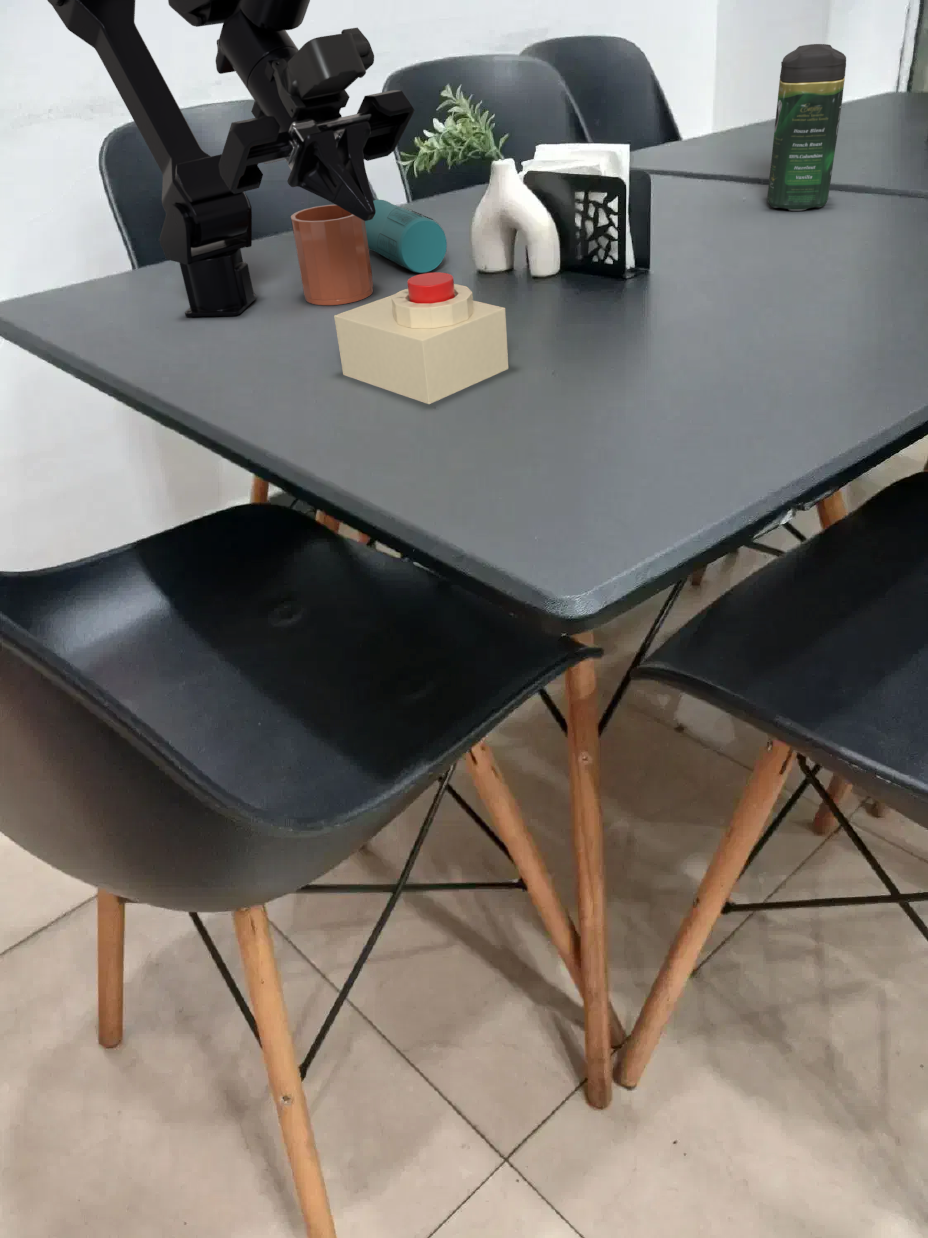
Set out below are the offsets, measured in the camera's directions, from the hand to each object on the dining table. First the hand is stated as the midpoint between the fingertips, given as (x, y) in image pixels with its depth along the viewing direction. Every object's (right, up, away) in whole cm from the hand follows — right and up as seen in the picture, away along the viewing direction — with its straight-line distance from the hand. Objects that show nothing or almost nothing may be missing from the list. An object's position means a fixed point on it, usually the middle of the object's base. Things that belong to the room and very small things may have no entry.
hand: (370, 216), depth 86 cm
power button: (+5, -8, -1) cm, 9 cm away
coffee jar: (+53, +20, +45) cm, 72 cm away
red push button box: (+5, -13, +4) cm, 14 cm away
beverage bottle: (+4, +8, +28) cm, 29 cm away
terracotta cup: (-6, +2, +27) cm, 28 cm away
